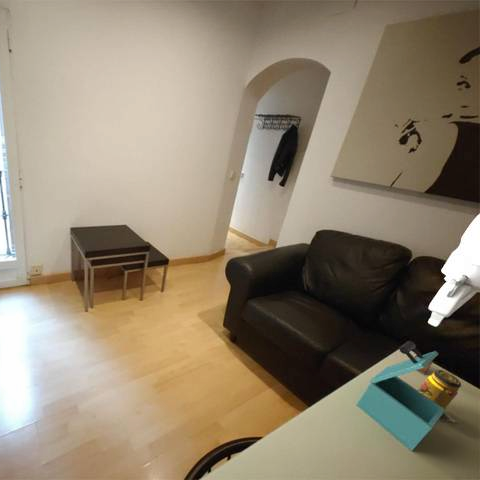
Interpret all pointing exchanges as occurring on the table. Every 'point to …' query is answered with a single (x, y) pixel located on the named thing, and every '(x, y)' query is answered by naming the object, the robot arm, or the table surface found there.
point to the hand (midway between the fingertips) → (438, 319)
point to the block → (424, 367)
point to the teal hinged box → (400, 410)
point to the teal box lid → (406, 363)
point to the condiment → (441, 390)
